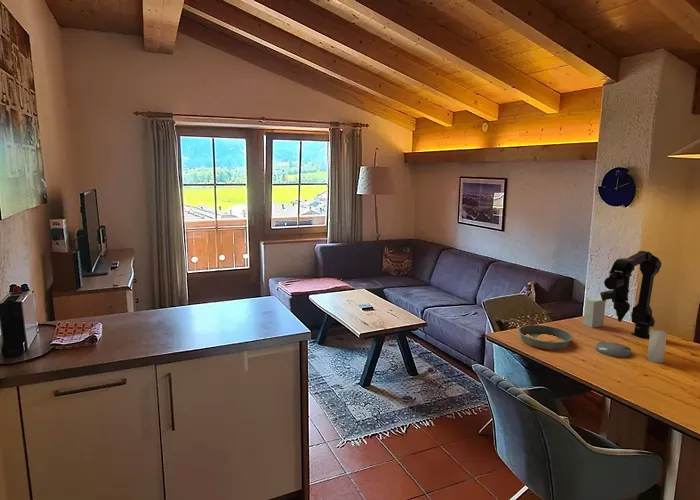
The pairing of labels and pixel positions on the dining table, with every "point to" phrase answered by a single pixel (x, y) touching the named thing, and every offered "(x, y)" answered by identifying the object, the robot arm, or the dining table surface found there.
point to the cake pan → (542, 329)
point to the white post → (657, 346)
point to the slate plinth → (613, 349)
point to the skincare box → (594, 312)
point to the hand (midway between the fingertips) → (618, 318)
